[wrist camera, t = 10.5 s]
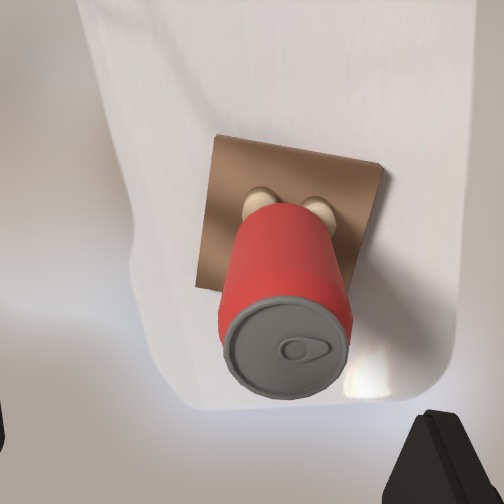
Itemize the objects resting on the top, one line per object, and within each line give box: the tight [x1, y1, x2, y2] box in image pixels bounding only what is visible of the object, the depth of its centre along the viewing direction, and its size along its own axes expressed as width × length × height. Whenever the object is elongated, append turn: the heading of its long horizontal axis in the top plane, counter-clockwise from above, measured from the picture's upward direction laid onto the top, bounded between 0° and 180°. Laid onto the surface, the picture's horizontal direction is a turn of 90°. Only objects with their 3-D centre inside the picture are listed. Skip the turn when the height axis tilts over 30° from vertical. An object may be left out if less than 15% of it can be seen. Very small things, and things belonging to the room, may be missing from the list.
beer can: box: [218, 203, 353, 400], centre depth 25 cm, size 7×7×12 cm
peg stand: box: [195, 134, 384, 293], centre depth 32 cm, size 12×12×4 cm
